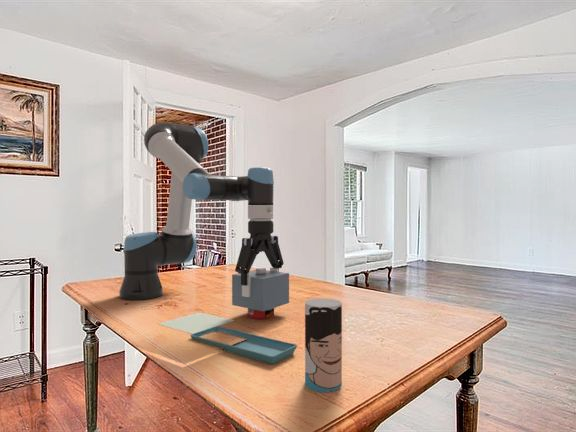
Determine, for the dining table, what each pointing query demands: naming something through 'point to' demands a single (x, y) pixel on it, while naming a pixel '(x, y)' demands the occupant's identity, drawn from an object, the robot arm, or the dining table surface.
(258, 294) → the cover
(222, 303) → the dining table surface
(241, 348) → the shallow long dish
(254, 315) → the canned food
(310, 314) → the printed grey cylinder
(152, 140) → the robot arm
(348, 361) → the dining table surface
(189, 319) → the mat
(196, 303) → the dining table surface
